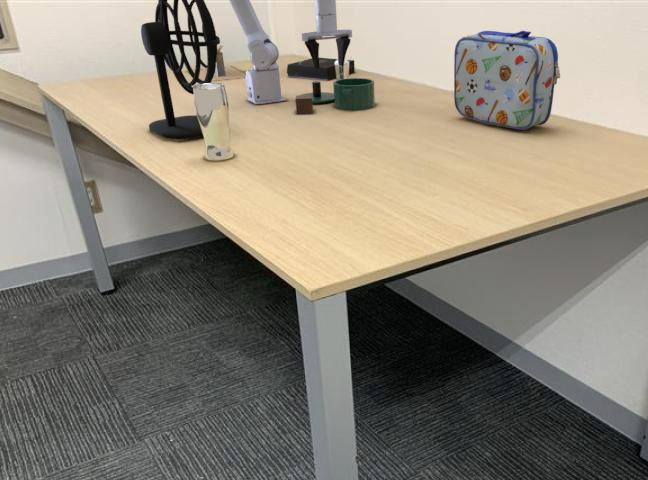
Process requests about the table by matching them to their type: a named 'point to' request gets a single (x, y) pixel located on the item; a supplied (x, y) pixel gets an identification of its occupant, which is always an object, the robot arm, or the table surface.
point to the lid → (320, 94)
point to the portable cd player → (322, 73)
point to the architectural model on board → (222, 70)
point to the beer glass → (213, 119)
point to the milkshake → (342, 70)
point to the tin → (354, 93)
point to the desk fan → (162, 49)
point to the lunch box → (505, 78)
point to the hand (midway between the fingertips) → (329, 66)
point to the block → (304, 104)
